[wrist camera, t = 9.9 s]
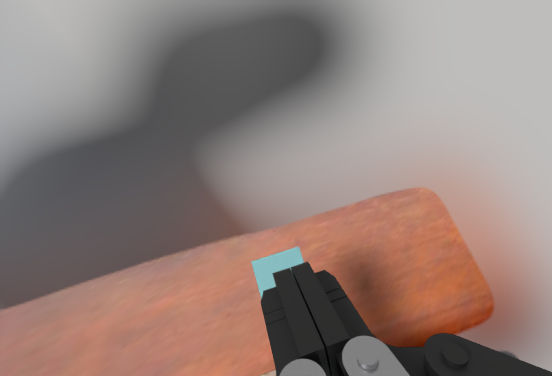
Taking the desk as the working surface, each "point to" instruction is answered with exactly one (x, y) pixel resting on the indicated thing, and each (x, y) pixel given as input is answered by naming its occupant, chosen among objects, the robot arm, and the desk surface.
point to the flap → (274, 267)
